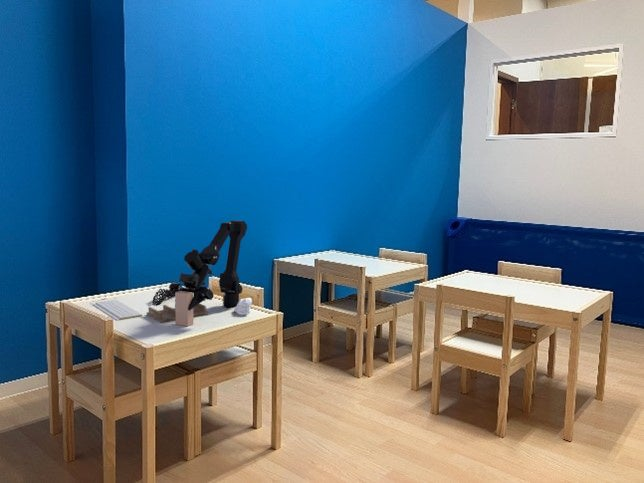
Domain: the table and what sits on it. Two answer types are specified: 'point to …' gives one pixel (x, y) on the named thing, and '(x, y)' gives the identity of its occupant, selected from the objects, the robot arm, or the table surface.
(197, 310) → the drying rack
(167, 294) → the decorative element
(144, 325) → the table surface
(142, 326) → the table surface
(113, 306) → the baseboard molding
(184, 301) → the pinkish tan block
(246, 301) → the baby figurine
